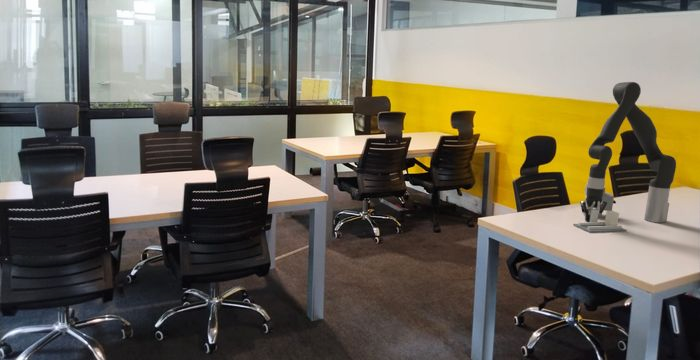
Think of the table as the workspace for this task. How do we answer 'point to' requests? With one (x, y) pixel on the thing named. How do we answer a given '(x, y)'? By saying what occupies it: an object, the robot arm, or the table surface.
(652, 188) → the robot arm
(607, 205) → the circuit breaker
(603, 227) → the rail plate
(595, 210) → the block
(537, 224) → the table surface
